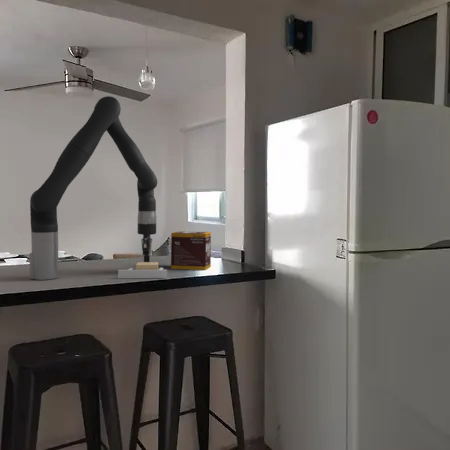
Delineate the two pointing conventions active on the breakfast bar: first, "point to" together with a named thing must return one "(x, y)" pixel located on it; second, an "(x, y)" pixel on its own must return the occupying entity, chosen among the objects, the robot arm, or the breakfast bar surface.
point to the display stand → (142, 273)
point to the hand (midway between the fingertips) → (146, 264)
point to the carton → (147, 266)
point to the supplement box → (191, 250)
